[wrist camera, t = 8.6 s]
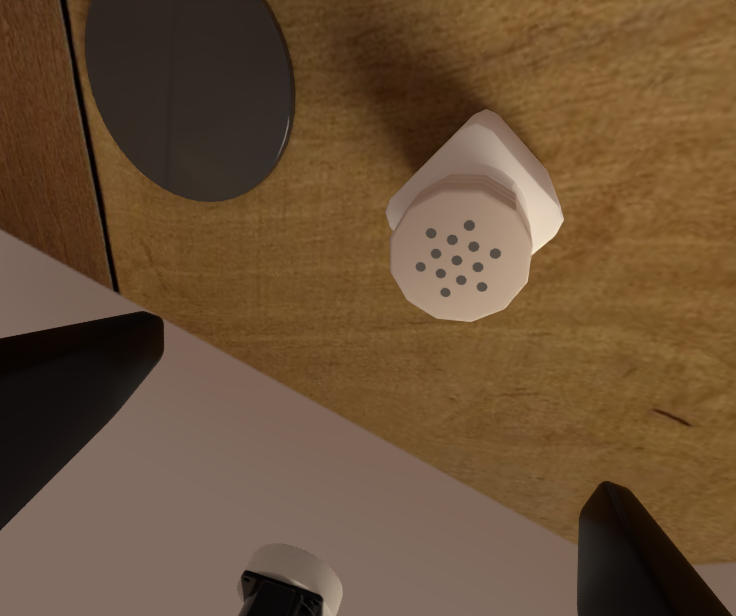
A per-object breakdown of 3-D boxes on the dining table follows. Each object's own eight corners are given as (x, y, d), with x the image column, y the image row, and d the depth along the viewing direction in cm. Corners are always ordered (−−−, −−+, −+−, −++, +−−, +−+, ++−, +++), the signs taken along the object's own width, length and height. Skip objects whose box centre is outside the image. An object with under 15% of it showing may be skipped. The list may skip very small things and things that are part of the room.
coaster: (297, 212, 21) (293, 215, 21) (118, 186, 23) (111, 188, 23) (293, -56, 16) (287, -60, 16) (69, -58, 18) (58, -62, 18)
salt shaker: (412, 176, 19) (337, 252, 11) (487, 100, 17) (464, 124, 9) (476, 244, 19) (450, 365, 11) (556, 179, 17) (595, 269, 9)
